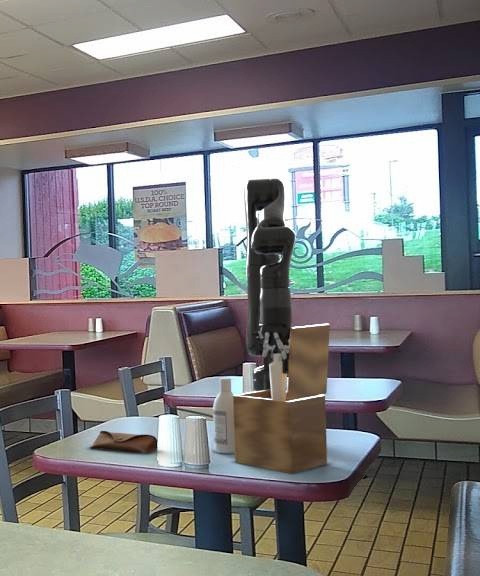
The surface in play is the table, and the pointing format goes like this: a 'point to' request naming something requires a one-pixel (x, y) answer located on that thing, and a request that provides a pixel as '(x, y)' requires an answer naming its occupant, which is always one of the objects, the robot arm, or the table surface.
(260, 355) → the robot arm
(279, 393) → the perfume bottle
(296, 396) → the chest lid
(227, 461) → the table surface
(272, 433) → the chest
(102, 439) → the sunglasses case
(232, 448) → the bath foam
